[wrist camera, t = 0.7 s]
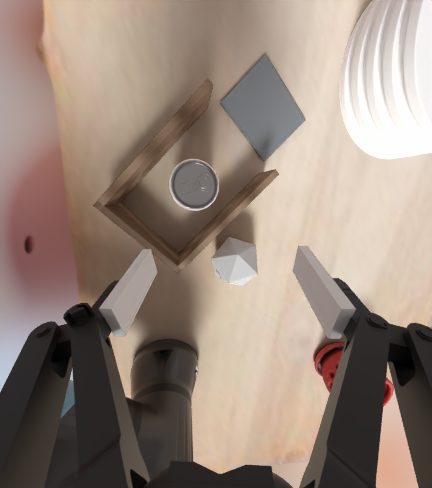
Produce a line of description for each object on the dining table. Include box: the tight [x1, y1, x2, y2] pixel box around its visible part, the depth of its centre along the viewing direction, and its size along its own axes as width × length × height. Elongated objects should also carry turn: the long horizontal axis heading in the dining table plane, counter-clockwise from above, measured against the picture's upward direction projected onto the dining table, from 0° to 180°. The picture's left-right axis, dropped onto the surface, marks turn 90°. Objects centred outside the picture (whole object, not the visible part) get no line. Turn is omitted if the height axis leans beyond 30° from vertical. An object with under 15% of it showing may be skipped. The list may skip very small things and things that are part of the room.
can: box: [169, 159, 219, 211], centre depth 27 cm, size 6×6×12 cm
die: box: [211, 237, 258, 286], centre depth 34 cm, size 8×9×10 cm
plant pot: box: [315, 343, 394, 407], centre depth 46 cm, size 13×13×12 cm
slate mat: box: [220, 54, 306, 161], centre depth 31 cm, size 10×12×1 cm
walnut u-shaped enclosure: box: [93, 79, 279, 274], centre depth 30 cm, size 23×16×6 cm
